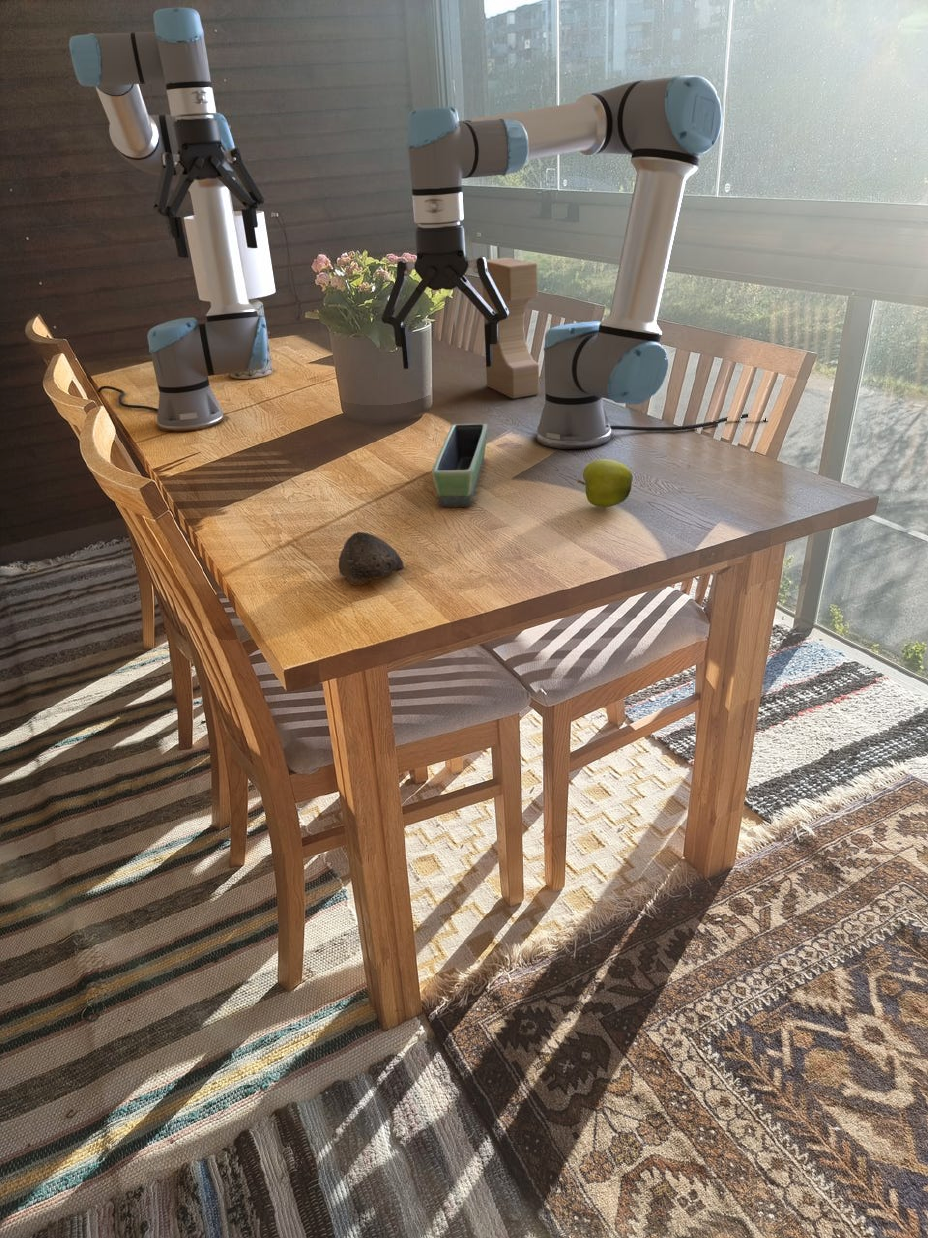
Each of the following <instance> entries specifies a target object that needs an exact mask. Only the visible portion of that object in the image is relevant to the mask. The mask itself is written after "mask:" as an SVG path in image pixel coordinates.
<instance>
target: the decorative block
mask: <svg viewBox="0 0 928 1238" xmlns="http://www.w3.org/2000/svg"><path fill="white" fill-rule="evenodd" d="M486 262H487V269H488V272H489V274H490V276H491V278H492V280H493V282H494V284H495V286H496V288H497V290H498V291H499V293H500V295H501V297H502V299H503V301H504V303H505V305H506V307H507V309H508V311H509V314H508V317H507V318H506V319H503V320H501V321H499V322H498V342H497V344H492V358H493V363H492V365H491V367H486V366H485V371H486V385H487V387H488V388H491V389H493V390H494V391H497V392H498V393H500V394H502V395H505V396H506V397H508V398H511V399H519V398H524V397H531V396H536V395H539V394H540V364H539V363H538V362H537V361H535V359H534V358H533V357H532V355H531V353H530V351H529V348H528V345H527V341H526V335H525V314H526V309H527V306H528V303H529V302H530V301H531V300H532V299H537V298H538V296H539V292H538V290H539V289H538V285H539V284H538V283H539V282H538V264H537V263H536V262H531V261H526V260H521V259H516V258H512V257H507V256H506V257H499V258H490V259H486ZM482 298H483V299H484V300H485V302H486V303H487V304H488V305H489V306H490V307H491V308H492V310H493V311H494V312H495V313H497V310H496V308H495V306H494V304H493V302H492V300H491V299H490V297H489V295H488V293H487V291H486V289H485V287H484V285H483V284H482ZM486 322H489V321H488V320H487V319H486V318H485V317H484V316H483V325H485V323H486ZM485 352H486V350H485Z"/></svg>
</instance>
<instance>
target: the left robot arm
mask: <svg viewBox="0 0 928 1238" xmlns="http://www.w3.org/2000/svg"><path fill="white" fill-rule="evenodd" d="M153 25H154V31H139V32H137V31H135V32H111V33H109V32H108V33H107V32H106V33H94V32H89V33H88V34H78V35H77V34H76V35H73V36H71V37H70V39H69V41H68V43H69V45H68V47H69V52H70V58H71V61H72V66H73V70H74V73H75V76H76V79H77V82H78V83H79V85H81V86H83V87H92V88H95V90H96V92H97V95H98V97H99V99H100V102H101V104H102V107H103V110H104V112H105V114H106V117H107V119H108V122H109V125H108V127H109V128H108V132H109V137H110V140H111V142H112V144H113V146H114V148H115V150H116V152H117V153H118V154H119V156H121V158H123V159H124V160H125V161H126V162H128V163H129V164H131V165H132V166H134V167H135V168H137V169H139V170H141V171H143V172H145V173H147V174H151V175H155V176H159V178H158V184H157V187H156V191H155V192H156V194H155V197H154V201H153V206H152V212H153V214H155V215H159V216H162V217H164V219H165V221H166V227H167V231H168V235H169V237H170V238H173V239H174V243H175V247H176V252H177V257H178V258H184V259H186V258H187V259H188V258H189V253H188V248H187V247H188V246H187V242H186V237H185V233H184V228H183V222H182V217H181V216H176V215H177V214H178V211H179V210H180V207H181V205H182V203H183V201H184V199H185V197H186V195H187V193H188V192H189V194H190V198H191V203H192V210H193V214H194V215H195V221H196V226H197V232H198V237H199V243H200V248H201V253H202V259H203V264H204V270H205V275H206V280H207V286H208V291H209V297H210V301H209V302H210V308H209V310H208V311H207V313H206V314H205V316H206V322H205V323H199V321H198V320H197V318H195V317H193V316H192V317H182V318H177V319H173V320H168V321H166V322H163V323H160V324H157V325H155V326H153V327H152V328H150V329H149V330H148V332H147V338H146V339H147V343H148V348H149V349H148V353H149V354H150V357H151V361H152V366H153V370H154V375H155V379H156V384H157V388H158V395H159V396H158V405H157V408H156V407H153V406H148V405H140V404H127V403H124V402H123V400H122V398H123V397H124V396H125V391H124V390H123V389H120V388H119V387H118V388H117V387H115V386H111V385H103V386H100V387H98V389H97V393H101V392H102V390H106V389H107V390H112V391H115V392H118V393H120V394H119V396H118V403H119V406H122V407H124V408H128V409H142V410H147V411H148V410H149V411H153V412H157V416H156V419H157V425H158V428H159V429H160V430H161V431H165V432H174V433H176V432H177V433H179V432H181V433H182V432H191V431H192V432H193V431H199V430H203V429H207V428H211V427H213V426H216V425H219V424H221V423H222V422H223V421H224V420H225V417H224V412H223V409H222V407H221V405H220V403H219V401H218V399H217V397H216V395H215V394H214V392H213V390H212V388H211V385H210V380H209V377H212V376H221V375H229V374H231V373H240V372H249V371H254V370H260V369H263V368H264V367H265V366H266V363H267V344H266V328H267V326H266V327H265V321H266V318H265V319H264V318H262V317H259V318H258V313H257V309H256V308H254V307H253V306H252V305H251V304H250V303H249V300H248V294H247V288H246V282H245V276H244V270H243V264H242V259H241V253H240V247H239V241H238V235H237V229H236V223H235V217H234V206H233V201H232V195H233V196H234V197H235V198H236V199H237V200H238V201H239V202H240V204H242V205H243V206H244V208H243V209H240V211H241V212H242V218H243V224H244V230H245V236H246V242H247V248H258V247H257V241H256V234H255V228H257V227H258V221H257V214H256V211H257V209H258V208H259V206H260V205H263V204H264V203H265V198H264V196H263V194H262V192H261V191H260V189H259V187H258V185H257V184H256V182H255V180H254V178H253V177H252V175H251V173H250V172H249V170H248V168H247V167H246V164H245V163H244V162H243V158H242V154H241V150H240V149H239V148H238V147H236V146H235V143H234V140H233V139H234V138H233V136H232V133H231V130H230V126H229V124H228V121H227V118H226V117H225V116H224V114H222V113H221V112H217V109H216V103H215V95H214V90H213V89H214V88H213V85H212V80H211V74H210V67H209V60H208V54H207V47H206V41H205V37H204V36H205V32H204V28H203V26H202V21H201V17H200V13H199V12H198V10H196V9H194V8H192V7H191V8H190V7H167V8H160V9H157V10H155V11H154V13H153ZM146 84H165V88H166V94H167V100H168V106H169V111H170V114H152V115H151V114H148V110H147V107H146V104H145V100H144V98H143V94H142V91H141V88H140V85H146ZM235 174H236V176H237V177H238V179H239V181H240V183H241V184H242V186H243V187H244V188H243V187H242V186H241V185H240V184H239V183H238V182H237V181H236V177H235ZM175 176H179V179H178V182H177V184H176V186H175V188H174V190H173V192H172V194H171V196H170V198H169V195H170V192H171V186H172V181H173V178H174V177H175ZM231 193H232V194H231Z"/></svg>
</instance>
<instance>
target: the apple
mask: <svg viewBox="0 0 928 1238" xmlns="http://www.w3.org/2000/svg"><path fill="white" fill-rule="evenodd" d="M582 471H583V472H582V478H583V481H582V480H580V479H578V480H577V483H578V484H581V485H583V486H585V489H584V490H585V491H584V492H585V496H586V500H587V502H589V503H590V504H591V505H593V506H594V507H596V508H597V507H598V508H609V507H610V508H611V507H614V506H617V505H619V504H621V503H623V502H624V501H626V499H628V497H629V496H630V494H631V490H632V485H633V478H634V477H633V476H634V475H633V472H632V470H631V469H630V468H629V467H628V466H627V465H625V464H623V463H622V462H619V461H617V460H614V459H610V458H599V459H595V460H593V461H590V462H589V463H588V464H587V465H586V466H585V467H584V468H583V470H582Z"/></svg>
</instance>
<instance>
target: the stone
mask: <svg viewBox="0 0 928 1238" xmlns="http://www.w3.org/2000/svg"><path fill="white" fill-rule="evenodd" d="M404 568H405V565H404V561H403V559H402V558H401V556H400V554H399V553H398V552H397V551H396V550H395V548H393V546H392V545H390V544H389V543H388V542H386V541H384V540H383V539H382V538H380V537H377V536H376V535H374V534H370V533H368V532H364V531H363V532H362V531H357V532H355V533H353V534H351V535H350V536H349V538H348V539H347V540H346V541H345V543H344V545H343V547H342V550H341V552H340V555H339V558H338V570H339V573H340V574H341V575H342V576H343V577H344V578H345V579H346V581H347V582H348V583H350V584H352V585H354V586H362V585H364V584H366V583H369V582H372V581H374V580H375V581H376V580H377V579H382V578H383V579H384V578H386V577H387V578H388V577H389V576H391V575H392V574H393V573H394V572H398V571H401V570H403V569H404Z"/></svg>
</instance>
